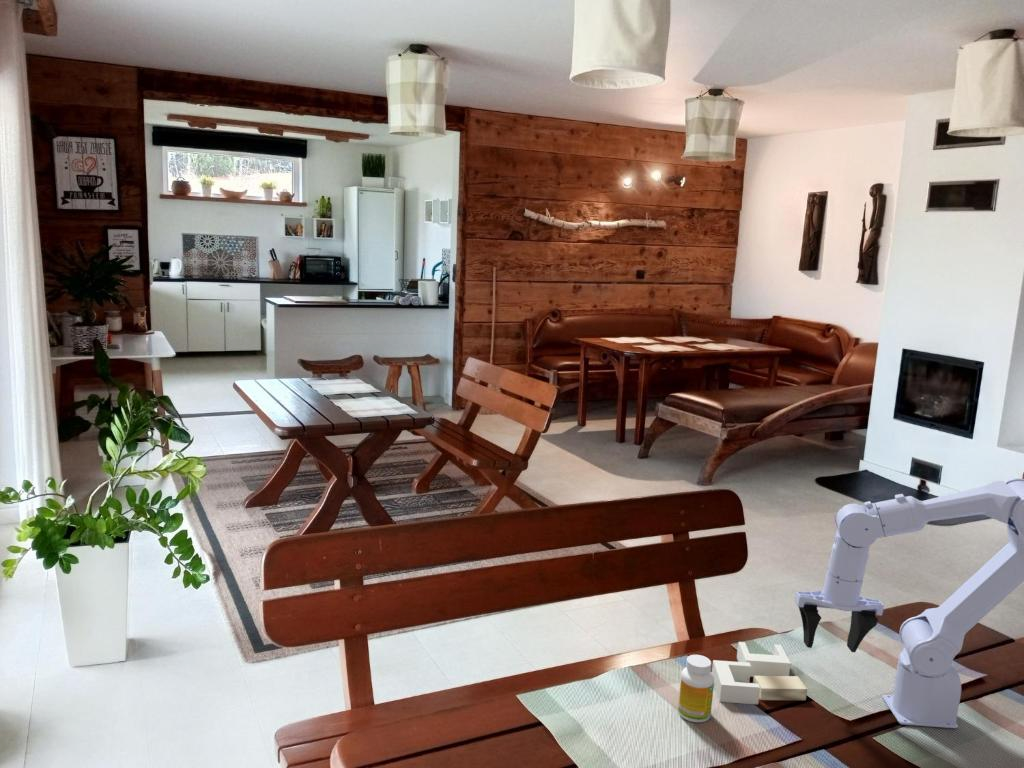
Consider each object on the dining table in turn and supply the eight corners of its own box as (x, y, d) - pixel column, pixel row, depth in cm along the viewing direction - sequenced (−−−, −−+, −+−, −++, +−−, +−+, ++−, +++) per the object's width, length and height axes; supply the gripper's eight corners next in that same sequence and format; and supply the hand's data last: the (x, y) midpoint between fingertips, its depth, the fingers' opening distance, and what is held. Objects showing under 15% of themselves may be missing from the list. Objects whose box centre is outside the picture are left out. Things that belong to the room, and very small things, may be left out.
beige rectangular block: (796, 689, 144) (797, 676, 144) (805, 702, 140) (807, 689, 140) (752, 688, 144) (753, 675, 143) (760, 701, 140) (761, 688, 139)
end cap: (747, 678, 146) (749, 662, 145) (758, 704, 138) (760, 687, 138) (711, 676, 146) (713, 660, 146) (719, 701, 138) (721, 684, 138)
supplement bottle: (711, 725, 132) (716, 671, 130) (677, 720, 133) (682, 666, 131) (709, 707, 137) (715, 654, 135) (677, 702, 138) (682, 650, 136)
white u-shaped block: (736, 657, 153) (738, 641, 152) (779, 660, 153) (780, 644, 152) (744, 676, 147) (746, 660, 146) (788, 679, 146) (790, 663, 146)
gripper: (876, 568, 141) (860, 638, 144) (794, 559, 140) (780, 630, 143) (895, 587, 134) (878, 660, 137) (809, 578, 133) (793, 652, 136)
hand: (829, 646), depth 139 cm, fingers open, 7 cm apart
